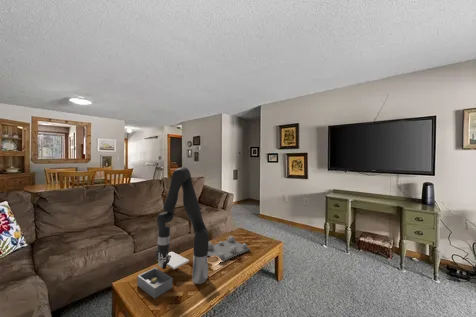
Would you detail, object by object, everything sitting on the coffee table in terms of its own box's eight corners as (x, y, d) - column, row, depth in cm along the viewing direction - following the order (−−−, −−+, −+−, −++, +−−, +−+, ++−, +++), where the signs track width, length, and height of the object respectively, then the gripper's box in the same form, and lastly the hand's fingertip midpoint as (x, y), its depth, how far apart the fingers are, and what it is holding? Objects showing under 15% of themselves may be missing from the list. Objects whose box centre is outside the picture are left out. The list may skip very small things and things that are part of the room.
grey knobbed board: (219, 265, 151) (220, 252, 151) (199, 252, 170) (200, 240, 170) (250, 251, 176) (251, 239, 176) (230, 240, 194) (231, 230, 194)
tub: (155, 276, 134) (155, 267, 134) (172, 287, 124) (172, 278, 124) (137, 285, 125) (137, 275, 124) (154, 298, 114) (154, 288, 114)
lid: (171, 254, 152) (171, 249, 152) (188, 263, 142) (189, 257, 142) (151, 263, 139) (151, 257, 138) (168, 273, 128) (169, 267, 128)
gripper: (175, 243, 134) (173, 269, 134) (162, 237, 142) (160, 261, 142) (165, 247, 128) (164, 274, 128) (152, 240, 135) (151, 266, 136)
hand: (162, 267), depth 135 cm, fingers closed on lid, 3 cm apart
